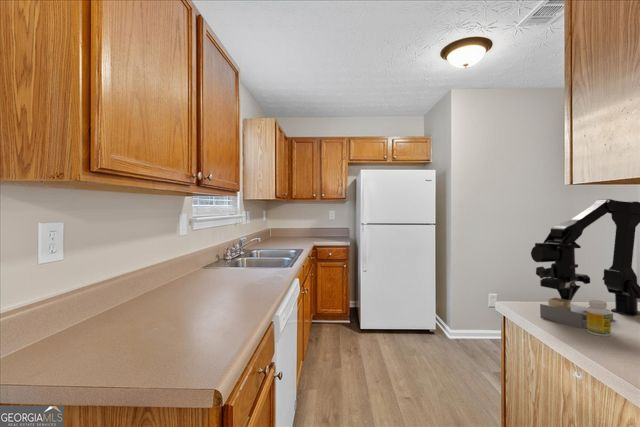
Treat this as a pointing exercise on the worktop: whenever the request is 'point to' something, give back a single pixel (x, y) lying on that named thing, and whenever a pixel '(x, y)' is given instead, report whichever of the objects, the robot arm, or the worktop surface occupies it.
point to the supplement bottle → (598, 318)
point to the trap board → (567, 315)
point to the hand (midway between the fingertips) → (566, 305)
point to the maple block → (560, 303)
